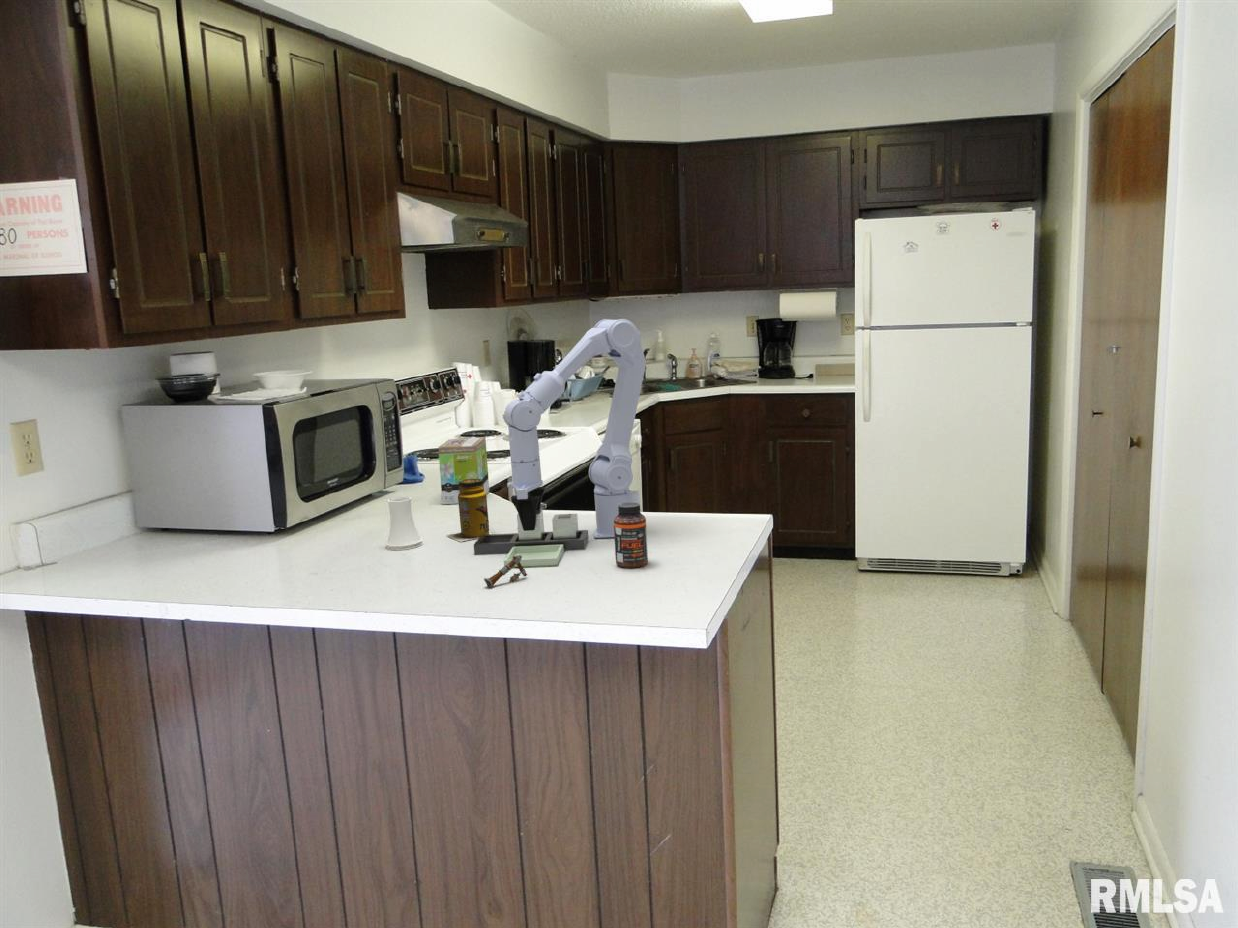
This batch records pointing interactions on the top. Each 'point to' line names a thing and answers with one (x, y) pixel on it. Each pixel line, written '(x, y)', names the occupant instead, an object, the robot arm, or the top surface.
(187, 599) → the top surface
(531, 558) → the parts tray
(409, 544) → the vase
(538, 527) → the grey box
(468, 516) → the condiment
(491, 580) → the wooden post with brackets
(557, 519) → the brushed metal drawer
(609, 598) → the top surface
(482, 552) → the rack frame
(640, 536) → the supplement bottle
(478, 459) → the tea box
